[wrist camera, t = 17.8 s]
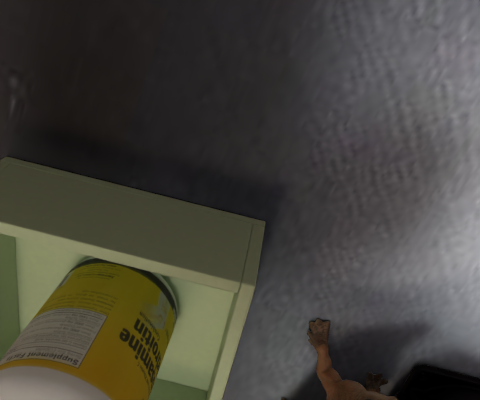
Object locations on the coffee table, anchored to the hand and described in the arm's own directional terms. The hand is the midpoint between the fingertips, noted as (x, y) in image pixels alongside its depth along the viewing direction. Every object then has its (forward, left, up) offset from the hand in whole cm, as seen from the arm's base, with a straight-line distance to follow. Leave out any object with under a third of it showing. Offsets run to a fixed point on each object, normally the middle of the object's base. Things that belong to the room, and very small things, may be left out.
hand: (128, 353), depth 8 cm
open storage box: (+4, +11, -13) cm, 17 cm away
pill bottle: (+4, +11, -13) cm, 17 cm away
